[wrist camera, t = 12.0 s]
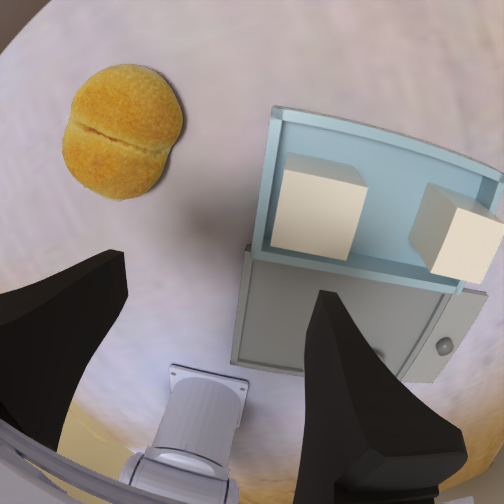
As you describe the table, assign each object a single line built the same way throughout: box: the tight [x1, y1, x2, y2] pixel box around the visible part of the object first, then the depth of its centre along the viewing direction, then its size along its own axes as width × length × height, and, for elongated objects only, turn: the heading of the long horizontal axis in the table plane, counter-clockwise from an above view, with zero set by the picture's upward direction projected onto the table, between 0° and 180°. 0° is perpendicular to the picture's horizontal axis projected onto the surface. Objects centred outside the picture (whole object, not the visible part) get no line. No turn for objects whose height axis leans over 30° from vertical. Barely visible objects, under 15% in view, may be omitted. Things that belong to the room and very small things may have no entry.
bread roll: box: [62, 64, 183, 202], centre depth 17 cm, size 8×9×4 cm
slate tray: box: [230, 245, 489, 383], centre depth 24 cm, size 12×20×1 cm, turn 83°
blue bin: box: [250, 105, 504, 295], centre depth 18 cm, size 9×15×2 cm, turn 82°
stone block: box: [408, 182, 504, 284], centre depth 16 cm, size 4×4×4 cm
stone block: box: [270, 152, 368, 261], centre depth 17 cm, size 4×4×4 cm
